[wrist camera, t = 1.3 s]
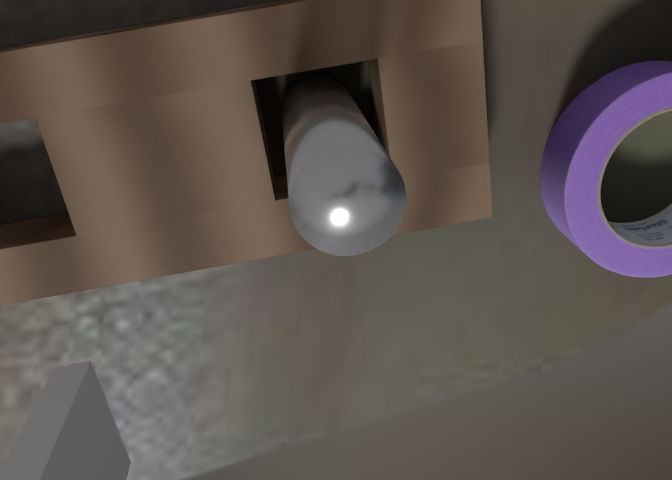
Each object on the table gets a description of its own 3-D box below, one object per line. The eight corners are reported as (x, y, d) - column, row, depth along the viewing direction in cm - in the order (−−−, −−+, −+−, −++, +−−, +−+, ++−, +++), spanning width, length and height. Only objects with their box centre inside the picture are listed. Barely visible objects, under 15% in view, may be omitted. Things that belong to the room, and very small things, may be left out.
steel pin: (349, 71, 34) (399, 135, 21) (359, 143, 35) (412, 245, 22) (275, 83, 33) (279, 156, 21) (289, 156, 35) (300, 265, 22)
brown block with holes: (454, -29, 32) (479, -29, 28) (470, 192, 37) (492, 216, 33) (-181, 78, 31) (-241, 93, 28) (-80, 290, 36) (-119, 326, 32)
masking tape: (499, 160, 37) (523, 181, 33) (666, 13, 34) (712, 18, 31) (607, 285, 41) (638, 315, 37) (763, 161, 38) (813, 180, 35)
